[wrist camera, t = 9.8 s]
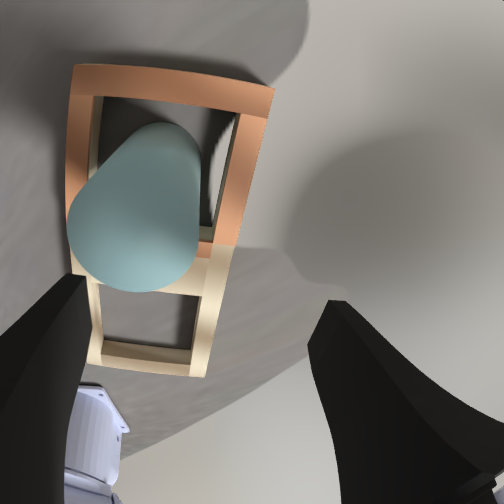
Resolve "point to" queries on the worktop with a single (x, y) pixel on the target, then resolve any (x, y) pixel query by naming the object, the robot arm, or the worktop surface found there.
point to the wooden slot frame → (210, 238)
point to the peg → (140, 211)
